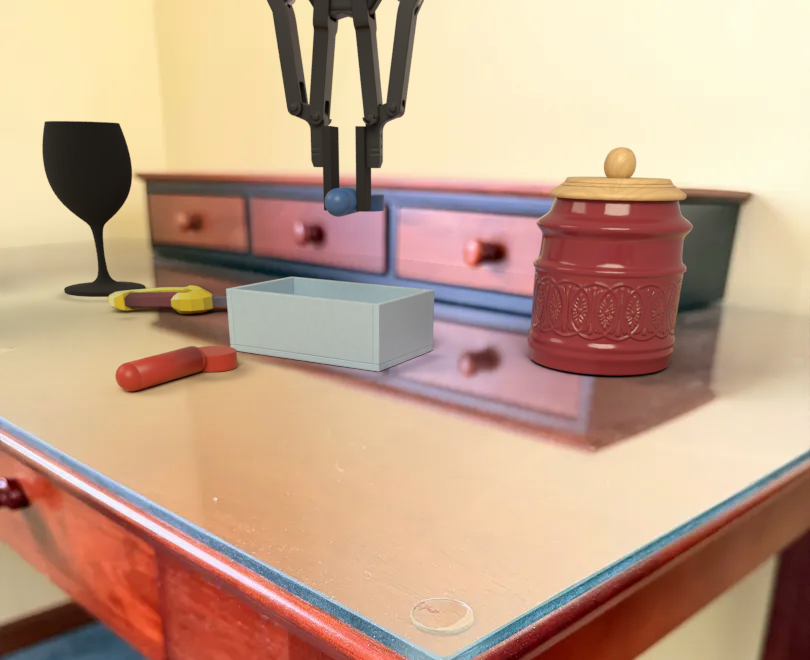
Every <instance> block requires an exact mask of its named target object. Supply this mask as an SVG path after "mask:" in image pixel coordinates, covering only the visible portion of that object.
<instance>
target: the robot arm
mask: <svg viewBox="0 0 810 660" xmlns="http://www.w3.org/2000/svg"><path fill="white" fill-rule="evenodd" d="M308 1H309V3H310V5H311V6H312V8H313V9H312V27H313V36H312V37H313V39H312V50H311V51H312V53H311V55H312V56H311V69H310V84H309V100H308V93H307V86H306V78H305V72H304V65H303V59H302V52H301V51H302V50H301V44H300V37H299V29H298V23H297V18H296V17H297V16H296V14H295V10H294V6H293V5H294V4H295V3H296V0H266V2H267V4H268V6H269V8H270V10H271V13H272V19H273V26H274V32H275V33H274V34H275V38H276V39H275V40H276V45H277V51H278V58H279V64H280V65H279V66H280V72H281V76H282V83H283V89H284V97H285V103H286V109H287V112H288V113H289V115H291V116H293V117H296V118H298V119H301V120H303V121H305V122H306V123H307V124H308V126H309V129H310V132H309V133H310V156H311V157H310V158H311V159H310V161H311V164H312V166H313V168H322V184H323V185H322V187H323V189H322V191H323V211H325V212H328V211H327V209H326V207H325V197H326V195H327V193H328V192H329V191H330V190H332V189H335V188H340V142H339V141H340V139H339V134H340V133H339V126H335V125H334V126H333V125H331V123H332V121H333V119H331V107H332V94H333V93H332V92H333V81H334V79H333V78H334V67H335V66H334V64H335V50H336V39H337V34H338V29H339V21H340V20H342V19H345V18H351V19H352V24H353V27H354V32H355V42H356V50H357V60H358V71H359V72H358V73H359V82H360V91H361V101H362V110H363V117H362V118H361V119H362V122H364V124H365V125H356V126H355V129H354V130H355V137H354V138H355V186H356V199H357V204H356V211H368V210H371V194H372V169H382V166H383V162H384V128H385V125H386V124H387V123H389V122H391V121H393V120H396V119H399V118H402V117H403V116H404V115H405V112H406V106H407V99H408V90H409V82H410V74H411V67H412V60H413V59H412V58H413V50H414V44H415V36H416V28H417V21H418V16H419V15H418V14H419V13H420V10H421V8H422V6H423V4H424V1H425V0H397V1H398V2H399V3H398V6H397V11H396V18H395V27H394V33H393V43H392V52H391V60H390V69H389V75H388V83H387V93H386V102H385V103H383V102H384V101H383V94H382V81H381V70H380V61H379V49H378V39H377V37H378V36H377V31H378V27H377V25H378V24H377V14H376V12H377V9H378V8H379V6H380V5H381V3H382V1H383V0H308Z"/></svg>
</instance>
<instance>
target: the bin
mask: <svg viewBox="0 0 810 660" xmlns="http://www.w3.org/2000/svg"><path fill="white" fill-rule="evenodd" d="M225 293H226V295H225V296H227V306H226V307H227V320H228V321H227V322H228V334H229V335H228V336H229V343H230V345H229V347H232V348H234V349H236V351H237V352H241V353H247V354H255V355H261V356H269V357H276V358H281V359H288V360H295V361H303V362H308V363H315V364H324V365H328V366H329V365H330V366H336V367H337V366H338V367H344V368H351V369H356V370H364V371H370V372H377V373H378V372H379V373H380V372H382V371H384V370H387V369H389V368H393V367H395V366H397V365H400V364H402V363H405V362H407V361H410V360H412V359H414V358H416V357H419V356H421V355H422V356H423V355H425V354H427V353H429V352H431V351H434V319H435V318H434V317H435V316H434V315H435V289H432V288H431V289H428V288H419V287H407V286H400V285H399V286H397V285H386V284H375V283H367V282H366V283H364V282H356V281H355V282H353V281H345V280H335V279H334V280H332V279H323V278H311V277H300V276H287V277H283V278H277V279H271V280H265V281H260V282H255V283H250V284H245V285H244V284H243V285H239V286H233V287H229V288H225Z"/></svg>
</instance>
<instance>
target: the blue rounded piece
mask: <svg viewBox="0 0 810 660" xmlns="http://www.w3.org/2000/svg"><path fill="white" fill-rule="evenodd" d="M356 204H357V199H356V185H349V186H342V187H339V188H335V189H332V190H330V191H329V192H328V193H327V195H326V197H325V207H326V209H327V211H326V212H328V213H329V215H332V216H333V217H336V218H340V217H345V216H348V215H351V214H356V213H361V212H362V213H365V212H366V213H370V212H375V213H376V212H384V211H385V194H383V193H371V210H368V211H356Z"/></svg>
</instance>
